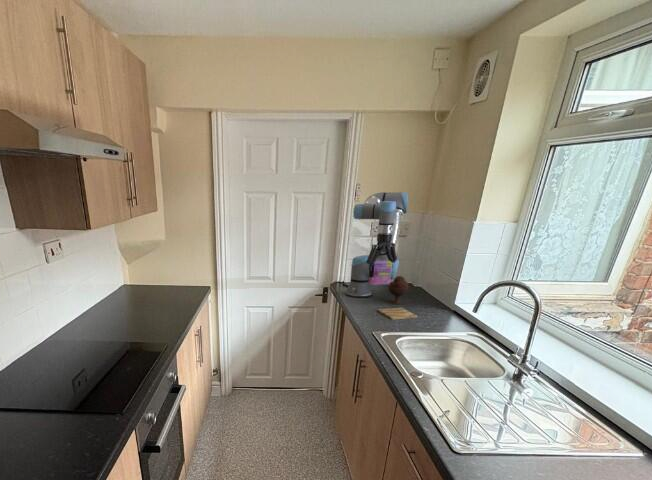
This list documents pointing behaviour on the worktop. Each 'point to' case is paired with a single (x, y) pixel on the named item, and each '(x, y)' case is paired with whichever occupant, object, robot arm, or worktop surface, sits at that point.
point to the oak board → (397, 313)
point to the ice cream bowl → (398, 288)
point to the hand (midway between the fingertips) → (379, 275)
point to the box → (381, 273)
